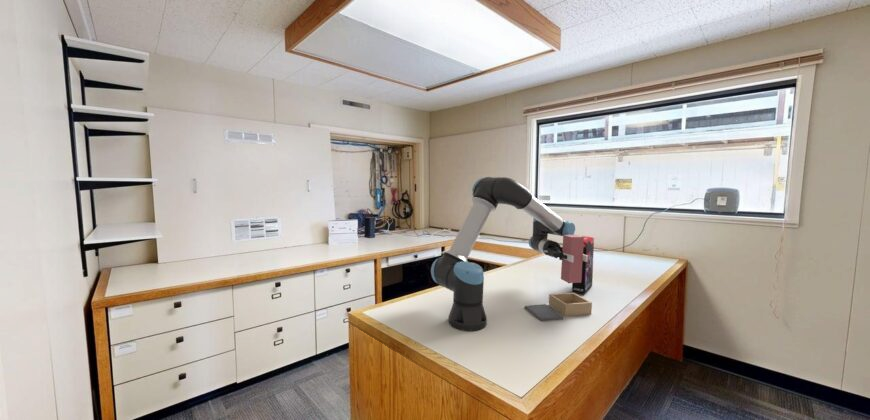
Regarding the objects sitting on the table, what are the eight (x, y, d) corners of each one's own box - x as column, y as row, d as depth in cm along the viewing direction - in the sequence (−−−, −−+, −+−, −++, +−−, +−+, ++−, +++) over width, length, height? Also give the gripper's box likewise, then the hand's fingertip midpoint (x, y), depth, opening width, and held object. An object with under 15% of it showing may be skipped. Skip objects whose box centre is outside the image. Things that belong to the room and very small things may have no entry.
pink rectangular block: (568, 283, 141) (571, 237, 139) (560, 279, 147) (563, 234, 145) (581, 282, 142) (584, 237, 141) (572, 278, 148) (575, 234, 146)
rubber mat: (541, 321, 133) (541, 318, 133) (524, 307, 147) (524, 305, 147) (563, 319, 135) (563, 316, 135) (545, 306, 149) (545, 304, 149)
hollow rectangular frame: (565, 316, 138) (565, 304, 138) (548, 304, 151) (549, 294, 150) (591, 313, 141) (591, 302, 140) (573, 303, 153) (573, 292, 153)
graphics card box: (584, 295, 164) (587, 241, 162) (570, 292, 168) (573, 239, 166) (592, 286, 178) (595, 237, 175) (578, 284, 182) (581, 235, 179)
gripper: (566, 254, 163) (598, 266, 141) (531, 255, 159) (559, 268, 137) (567, 239, 163) (599, 249, 140) (532, 240, 159) (560, 250, 136)
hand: (579, 258), depth 139 cm, fingers closed on pink rectangular block, 6 cm apart
